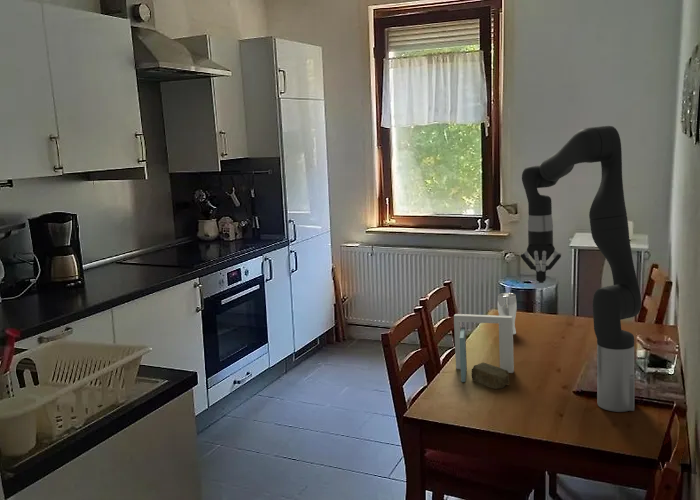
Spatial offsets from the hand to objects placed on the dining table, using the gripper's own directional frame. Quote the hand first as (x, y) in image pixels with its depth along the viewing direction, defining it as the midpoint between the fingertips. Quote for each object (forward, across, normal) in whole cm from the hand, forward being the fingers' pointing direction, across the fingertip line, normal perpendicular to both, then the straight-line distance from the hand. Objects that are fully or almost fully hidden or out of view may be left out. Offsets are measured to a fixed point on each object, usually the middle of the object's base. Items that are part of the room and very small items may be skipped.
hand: (541, 282), depth 206 cm
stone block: (+27, -13, -21) cm, 37 cm away
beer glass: (+27, -16, +31) cm, 44 cm away
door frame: (+27, -18, -10) cm, 34 cm away
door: (+27, -22, -17) cm, 39 cm away
